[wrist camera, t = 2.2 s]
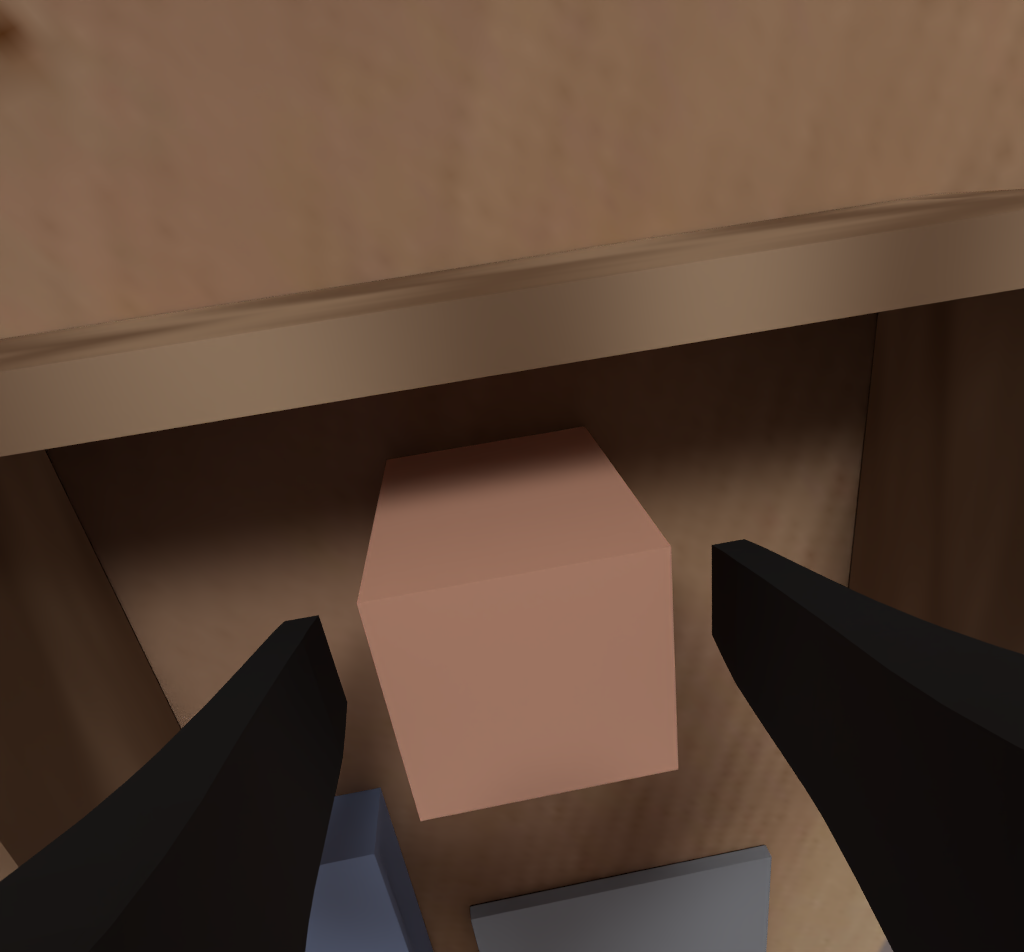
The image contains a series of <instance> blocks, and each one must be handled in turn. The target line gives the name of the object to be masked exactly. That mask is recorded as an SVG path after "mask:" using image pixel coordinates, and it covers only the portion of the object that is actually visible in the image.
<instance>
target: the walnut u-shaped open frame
mask: <svg viewBox="0 0 1024 952" xmlns="http://www.w3.org/2000/svg"><path fill="white" fill-rule="evenodd" d="M876 312H878V319H877V329H876V338H875V347H874V357H873V366H872V375H871V385H870V394H869V404H868V413H867V422H866V432H865V441H864V451H863V460H862V469H861V479H860V488H859V497H858V507H857V516H856V526H855V535H854V544H853V554H852V563H851V572H850V582H849V589H851V590H854V591H856V592H858V593H860V594H863V595H865V596H867V597H869V598H872V599H874V600H876V601H878V602H881V603H883V604H886V605H888V606H890V607H893V608H895V609H898V610H900V611H902V612H905V613H907V614H910V615H912V616H914V617H917V618H919V619H922V620H925V621H927V622H930V623H933V624H935V625H938V626H940V627H943V628H946V629H949V630H952V631H955V632H958V633H960V634H963V635H966V636H969V637H972V638H975V639H978V640H981V641H984V642H986V643H989V644H992V645H995V646H998V647H1002V648H1005V649H1008V650H1011V651H1015V652H1018V653H1021V654H1024V189H1018V190H999V191H981V192H963V193H945V194H933V195H926V196H920V197H913V198H907V199H901V200H894V201H888V202H881V203H875V204H868V205H862V206H855V207H849V208H843V209H836V210H830V211H823V212H817V213H810V214H804V215H798V216H791V217H785V218H778V219H772V220H765V221H759V222H752V223H746V224H740V225H733V226H727V227H720V228H714V229H707V230H701V231H694V232H688V233H682V234H675V235H669V236H662V237H656V238H649V239H643V240H637V241H630V242H624V243H617V244H611V245H604V246H598V247H591V248H585V249H579V250H572V251H566V252H559V253H553V254H546V255H540V256H533V257H527V258H521V259H514V260H508V261H501V262H495V263H488V264H482V265H476V266H469V267H463V268H456V269H450V270H443V271H437V272H430V273H424V274H418V275H411V276H405V277H398V278H392V279H385V280H379V281H372V282H366V283H360V284H353V285H347V286H340V287H334V288H327V289H321V290H315V291H308V292H302V293H295V294H289V295H282V296H276V297H269V298H263V299H257V300H250V301H244V302H237V303H231V304H224V305H218V306H211V307H205V308H199V309H192V310H186V311H179V312H173V313H166V314H160V315H154V316H147V317H141V318H134V319H128V320H121V321H115V322H108V323H102V324H96V325H89V326H83V327H76V328H70V329H63V330H57V331H50V332H44V333H38V334H31V335H25V336H18V337H12V338H5V339H0V881H1V880H3V879H4V878H5V877H7V876H8V875H9V874H11V873H12V872H13V871H15V870H16V869H17V868H18V867H20V866H21V865H22V864H24V863H25V862H26V861H28V860H29V859H30V858H31V857H33V856H34V855H35V854H37V853H38V852H39V851H41V850H42V849H43V848H45V847H46V846H47V845H48V844H50V843H51V842H52V841H54V840H55V839H56V838H58V837H59V836H60V835H61V834H63V833H64V832H65V831H67V830H68V829H69V828H71V827H72V826H73V825H75V824H76V823H77V822H78V821H80V820H81V819H82V818H83V817H84V816H86V815H87V814H88V813H89V812H91V811H92V810H93V809H94V808H95V807H97V806H98V805H99V804H100V803H101V802H102V801H104V800H105V799H106V798H107V797H108V796H109V795H111V794H112V793H113V792H114V791H115V790H116V789H118V788H119V787H120V786H121V785H122V784H124V783H125V782H126V781H127V780H128V779H129V778H130V777H131V776H133V775H134V774H135V773H136V772H137V771H138V770H139V769H140V768H141V767H143V766H144V765H145V764H146V763H147V762H148V761H149V760H150V759H151V758H152V757H153V756H154V755H156V754H157V753H158V752H159V751H160V750H161V749H162V748H163V747H164V746H165V745H166V744H167V743H168V742H169V741H170V740H171V739H172V738H173V737H174V736H175V735H176V734H177V733H178V732H179V731H180V730H181V729H180V727H179V725H178V723H177V721H176V719H175V717H174V715H173V713H172V710H171V708H170V706H169V704H168V702H167V700H166V698H165V696H164V694H163V692H162V690H161V688H160V686H159V684H158V682H157V680H156V678H155V676H154V674H153V671H152V669H151V667H150V665H149V663H148V661H147V659H146V657H145V655H144V653H143V651H142V649H141V647H140V645H139V643H138V641H137V639H136V637H135V635H134V632H133V630H132V628H131V626H130V624H129V622H128V620H127V618H126V616H125V614H124V612H123V610H122V608H121V606H120V604H119V602H118V600H117V598H116V596H115V593H114V591H113V589H112V587H111V585H110V583H109V581H108V579H107V577H106V575H105V573H104V571H103V569H102V567H101V565H100V563H99V561H98V559H97V557H96V554H95V552H94V550H93V548H92V546H91V544H90V542H89V540H88V538H87V536H86V534H85V532H84V530H83V528H82V526H81V524H80V522H79V520H78V518H77V515H76V513H75V511H74V509H73V507H72V505H71V503H70V501H69V499H68V497H67V495H66V493H65V491H64V489H63V487H62V485H61V483H60V481H59V479H58V476H57V474H56V472H55V470H54V468H53V466H52V464H51V462H50V460H49V458H48V456H47V454H46V452H45V450H44V449H50V448H56V447H62V446H68V445H74V444H80V443H86V442H93V441H99V440H105V439H111V438H117V437H123V436H129V435H135V434H141V433H147V432H153V431H159V430H165V429H172V428H178V427H184V426H190V425H196V424H202V423H208V422H214V421H220V420H226V419H232V418H238V417H244V416H250V415H257V414H263V413H269V412H275V411H281V410H287V409H293V408H299V407H305V406H311V405H317V404H323V403H329V402H335V401H342V400H348V399H354V398H360V397H366V396H372V395H378V394H384V393H390V392H396V391H402V390H408V389H414V388H421V387H427V386H433V385H439V384H445V383H451V382H457V381H463V380H469V379H475V378H481V377H487V376H493V375H499V374H506V373H512V372H518V371H524V370H530V369H536V368H542V367H548V366H554V365H560V364H566V363H572V362H578V361H584V360H591V359H597V358H603V357H609V356H615V355H621V354H627V353H633V352H639V351H645V350H651V349H657V348H663V347H669V346H676V345H682V344H688V343H694V342H700V341H706V340H712V339H718V338H724V337H730V336H736V335H742V334H748V333H755V332H761V331H767V330H773V329H779V328H785V327H791V326H797V325H803V324H809V323H815V322H821V321H827V320H833V319H840V318H846V317H852V316H858V315H864V314H870V313H876Z"/></svg>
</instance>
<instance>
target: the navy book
mask: <svg viewBox="0 0 1024 952" xmlns="http://www.w3.org/2000/svg"><path fill="white" fill-rule="evenodd" d="M305 952H433V949H432V946H431V943H430V940H429V936H428V933H427V930H426V927H425V924H424V921H423V918H422V915H421V912H420V909H419V905H418V902H417V899H416V896H415V893H414V890H413V887H412V884H411V881H410V878H409V874H408V871H407V868H406V865H405V862H404V859H403V856H402V853H401V850H400V847H399V843H398V840H397V837H396V834H395V831H394V828H393V825H392V822H391V819H390V816H389V812H388V809H387V806H386V803H385V800H384V797H383V794H382V791H381V788H376V789H371V790H366V791H361V792H356V793H351V794H346V795H341V796H335V797H334V802H333V807H332V812H331V816H330V821H329V825H328V830H327V835H326V839H325V844H324V849H323V853H322V858H321V862H320V867H319V872H318V876H317V881H316V886H315V890H314V896H313V901H312V907H311V913H310V919H309V925H308V933H307V941H306V949H305Z"/></svg>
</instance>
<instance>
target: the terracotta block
mask: <svg viewBox="0 0 1024 952" xmlns="http://www.w3.org/2000/svg"><path fill="white" fill-rule="evenodd" d="M357 606H358V609H359V613H360V616H361V619H362V623H363V626H364V630H365V633H366V637H367V640H368V643H369V647H370V650H371V654H372V657H373V660H374V664H375V667H376V671H377V674H378V678H379V681H380V684H381V688H382V691H383V695H384V698H385V702H386V705H387V708H388V712H389V715H390V719H391V722H392V725H393V729H394V732H395V736H396V739H397V743H398V746H399V749H400V753H401V756H402V760H403V763H404V766H405V770H406V773H407V777H408V780H409V784H410V787H411V790H412V794H413V797H414V801H415V804H416V808H417V811H418V814H419V818H420V821H424V820H429V819H434V818H439V817H444V816H449V815H454V814H459V813H464V812H469V811H474V810H479V809H483V808H488V807H493V806H498V805H503V804H508V803H513V802H518V801H523V800H528V799H533V798H538V797H543V796H548V795H553V794H558V793H563V792H568V791H573V790H578V789H583V788H588V787H593V786H598V785H603V784H608V783H613V782H618V781H623V780H628V779H633V778H638V777H643V776H648V775H653V774H658V773H663V772H668V771H673V770H678V744H677V714H676V684H675V654H674V624H673V593H672V563H671V546H670V544H669V543H668V542H667V540H666V539H665V537H664V536H663V535H662V533H661V532H660V530H659V529H658V528H657V526H656V525H655V523H654V522H653V521H652V519H651V518H650V517H649V515H648V514H647V512H646V511H645V510H644V508H643V507H642V505H641V504H640V503H639V501H638V500H637V498H636V497H635V496H634V494H633V493H632V491H631V490H630V489H629V487H628V486H627V484H626V483H625V482H624V480H623V479H622V478H621V476H620V475H619V473H618V472H617V471H616V469H615V468H614V466H613V465H612V464H611V462H610V461H609V459H608V458H607V457H606V455H605V454H604V452H603V451H602V450H601V448H600V447H599V445H598V444H597V443H596V441H595V440H594V439H593V437H592V436H591V434H590V433H589V432H588V430H587V429H586V427H585V426H584V427H578V428H572V429H566V430H560V431H554V432H548V433H542V434H536V435H530V436H524V437H518V438H513V439H507V440H501V441H495V442H489V443H483V444H477V445H471V446H465V447H459V448H453V449H447V450H442V451H436V452H430V453H424V454H418V455H412V456H406V457H400V458H394V459H388V460H387V461H386V465H385V470H384V475H383V480H382V485H381V489H380V494H379V499H378V504H377V509H376V513H375V518H374V523H373V528H372V533H371V537H370V542H369V547H368V552H367V557H366V561H365V566H364V571H363V576H362V581H361V585H360V590H359V595H358V600H357Z"/></svg>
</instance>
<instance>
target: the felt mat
mask: <svg viewBox="0 0 1024 952" xmlns="http://www.w3.org/2000/svg"><path fill="white" fill-rule="evenodd" d="M770 874H771V855H770V853H769V851H768V849H767V847H766V845H764V846H759V847H754V848H749V849H744V850H740V851H735V852H730V853H725V854H720V855H716V856H711V857H706V858H701V859H696V860H692V861H687V862H682V863H677V864H672V865H668V866H663V867H658V868H653V869H648V870H644V871H639V872H634V873H629V874H624V875H620V876H615V877H610V878H605V879H601V880H596V881H591V882H586V883H581V884H577V885H572V886H567V887H562V888H557V889H553V890H548V891H543V892H538V893H533V894H529V895H524V896H519V897H514V898H509V899H505V900H500V901H495V902H490V903H485V904H481V905H476V906H471V907H470V914H471V922H472V926H473V930H474V933H475V937H476V941H477V945H478V948H479V952H766V945H767V927H768V909H769V892H770Z"/></svg>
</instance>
